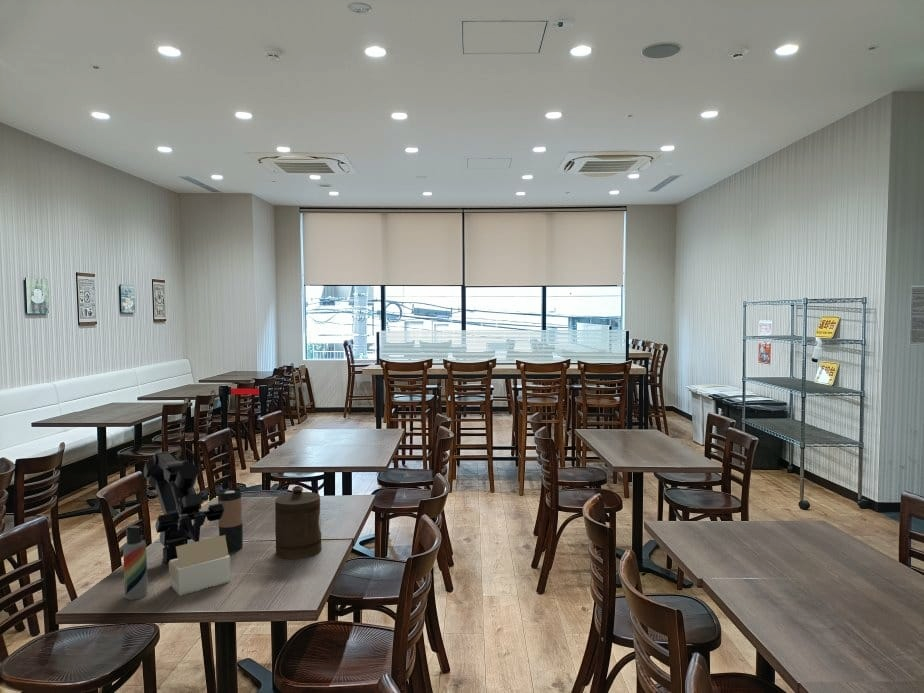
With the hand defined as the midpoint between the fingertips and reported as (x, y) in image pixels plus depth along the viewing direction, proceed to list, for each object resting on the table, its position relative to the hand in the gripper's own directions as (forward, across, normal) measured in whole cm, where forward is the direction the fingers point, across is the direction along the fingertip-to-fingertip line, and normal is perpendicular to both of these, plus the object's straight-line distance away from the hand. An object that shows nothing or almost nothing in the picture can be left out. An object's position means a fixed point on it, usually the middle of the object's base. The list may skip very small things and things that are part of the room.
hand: (197, 541), depth 179 cm
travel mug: (-6, +17, +24) cm, 30 cm away
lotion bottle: (+7, -16, +11) cm, 20 cm away
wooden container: (+7, +33, +11) cm, 35 cm away
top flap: (+4, 0, -2) cm, 5 cm away
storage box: (+10, 0, +8) cm, 12 cm away
